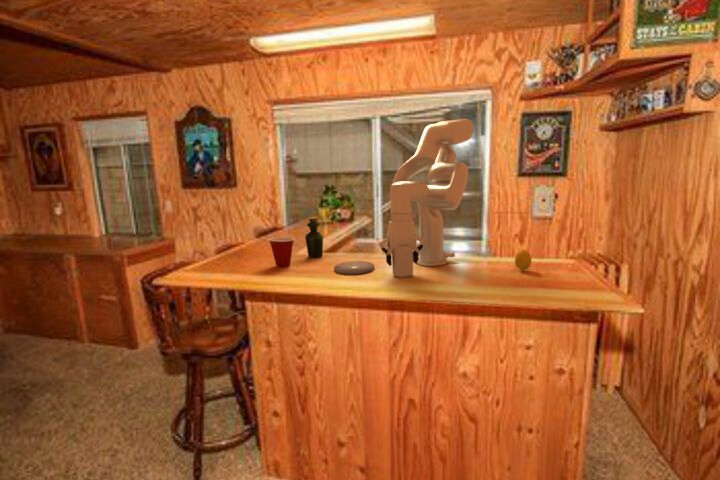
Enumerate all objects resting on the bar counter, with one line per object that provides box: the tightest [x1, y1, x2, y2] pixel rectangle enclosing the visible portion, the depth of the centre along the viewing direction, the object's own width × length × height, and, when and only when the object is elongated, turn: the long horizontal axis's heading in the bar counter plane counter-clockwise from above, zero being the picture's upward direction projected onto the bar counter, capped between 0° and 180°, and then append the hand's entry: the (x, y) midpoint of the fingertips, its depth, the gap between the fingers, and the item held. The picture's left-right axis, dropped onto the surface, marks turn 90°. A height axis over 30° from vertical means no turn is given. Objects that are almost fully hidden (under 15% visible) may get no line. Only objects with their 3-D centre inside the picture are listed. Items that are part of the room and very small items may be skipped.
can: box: [391, 245, 414, 279], centre depth 143 cm, size 8×8×12 cm
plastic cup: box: [268, 236, 295, 268], centre depth 164 cm, size 11×11×12 cm
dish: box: [333, 260, 375, 276], centre depth 155 cm, size 16×16×1 cm
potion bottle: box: [304, 216, 324, 259], centre depth 177 cm, size 8×8×18 cm
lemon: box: [514, 249, 532, 272], centre depth 142 cm, size 6×6×8 cm
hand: (402, 263), depth 143 cm, fingers open, 9 cm apart
